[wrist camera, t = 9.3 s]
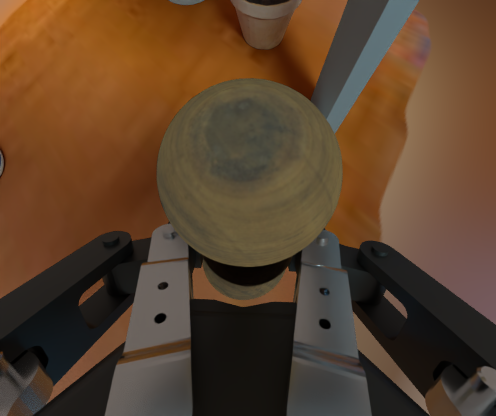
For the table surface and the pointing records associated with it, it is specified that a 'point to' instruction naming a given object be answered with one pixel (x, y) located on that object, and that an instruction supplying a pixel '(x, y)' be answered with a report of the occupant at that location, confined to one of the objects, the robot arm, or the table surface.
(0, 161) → the beverage bottle
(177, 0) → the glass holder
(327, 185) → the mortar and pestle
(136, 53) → the table surface
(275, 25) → the potted plant
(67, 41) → the table surface
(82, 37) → the table surface
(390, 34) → the overhang shelf
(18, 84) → the table surface
